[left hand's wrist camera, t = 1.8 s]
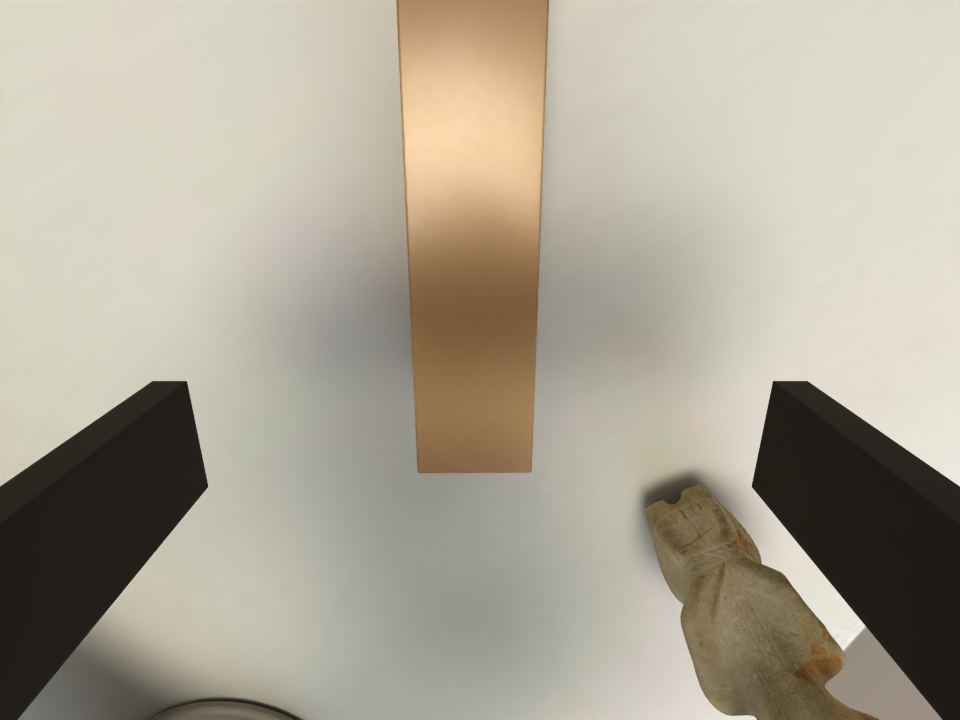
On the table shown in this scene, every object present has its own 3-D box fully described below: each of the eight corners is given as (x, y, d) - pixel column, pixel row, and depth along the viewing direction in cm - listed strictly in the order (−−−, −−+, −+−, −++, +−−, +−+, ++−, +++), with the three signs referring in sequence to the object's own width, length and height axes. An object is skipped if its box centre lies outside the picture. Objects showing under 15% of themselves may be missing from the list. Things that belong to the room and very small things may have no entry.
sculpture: (660, 589, 33) (799, 912, 19) (618, 497, 31) (739, 785, 17) (755, 554, 32) (974, 865, 18) (718, 457, 30) (936, 725, 16)
